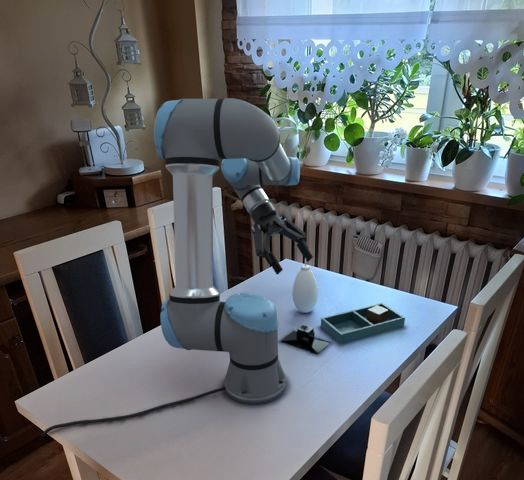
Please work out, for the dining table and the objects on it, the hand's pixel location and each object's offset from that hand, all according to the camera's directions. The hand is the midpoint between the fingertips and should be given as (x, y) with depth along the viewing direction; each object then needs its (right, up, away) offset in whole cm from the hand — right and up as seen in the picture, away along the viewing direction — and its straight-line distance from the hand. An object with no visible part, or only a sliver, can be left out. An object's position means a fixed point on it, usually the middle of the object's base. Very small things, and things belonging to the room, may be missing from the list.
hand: (295, 265), depth 149 cm
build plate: (+2, -24, -11) cm, 26 cm away
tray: (+19, -19, -5) cm, 28 cm away
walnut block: (+24, -18, -3) cm, 30 cm away
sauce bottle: (+3, -14, +5) cm, 15 cm away
